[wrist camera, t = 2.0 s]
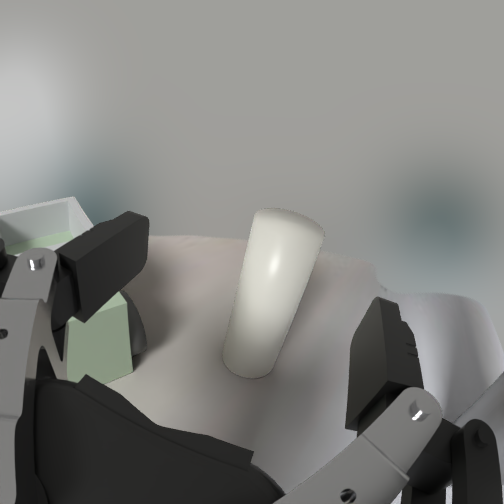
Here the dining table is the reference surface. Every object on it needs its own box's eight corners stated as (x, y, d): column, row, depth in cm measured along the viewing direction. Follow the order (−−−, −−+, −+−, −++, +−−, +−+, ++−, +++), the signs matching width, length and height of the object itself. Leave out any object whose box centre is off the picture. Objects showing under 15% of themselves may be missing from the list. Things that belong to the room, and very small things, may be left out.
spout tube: (284, 362, 28) (337, 234, 21) (247, 387, 25) (295, 249, 18) (249, 331, 31) (285, 204, 24) (211, 351, 27) (239, 213, 21)
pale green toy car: (148, 365, 24) (147, 260, 19) (-53, 437, 10) (-129, 344, 4) (86, 268, 33) (82, 181, 28) (-63, 312, 19) (-93, 224, 13)
